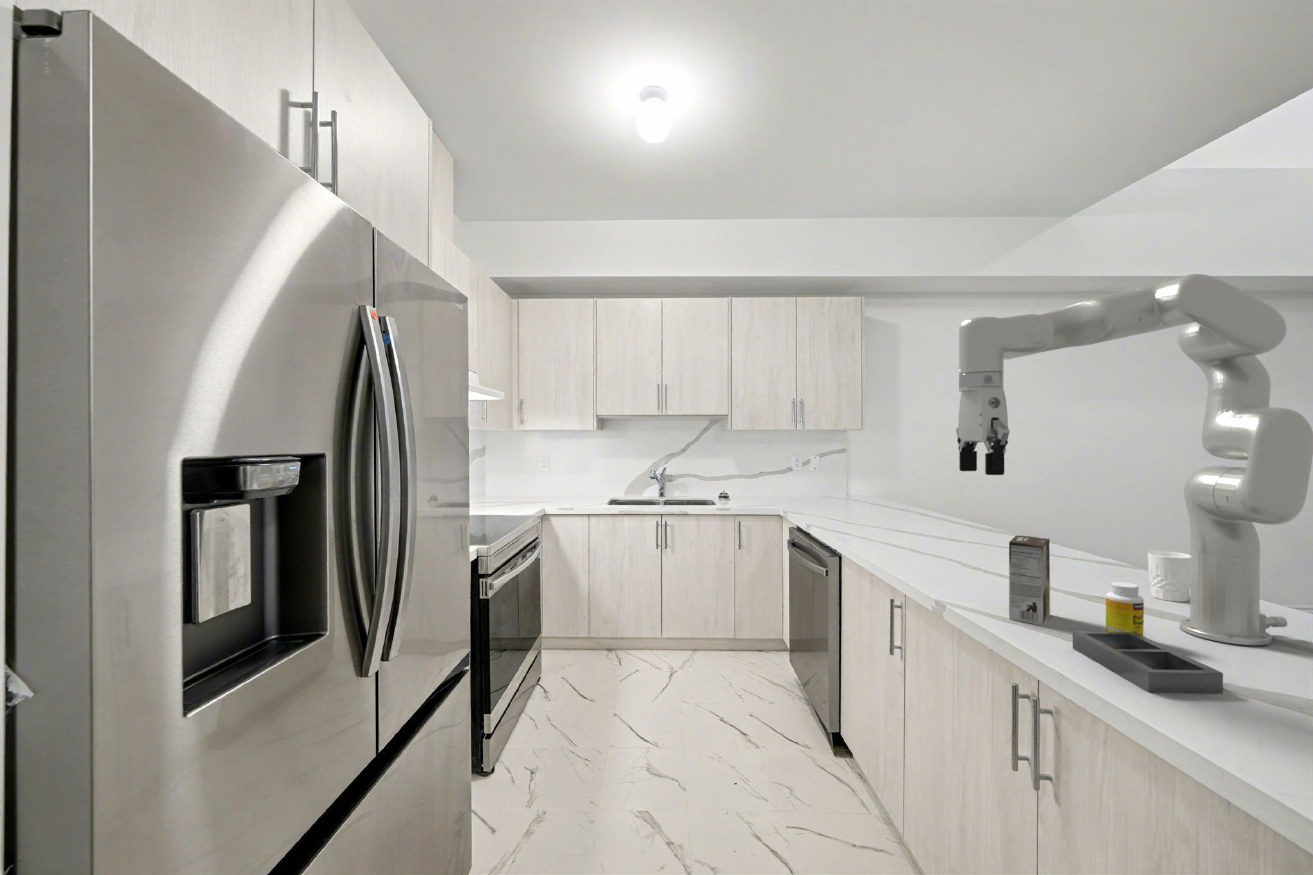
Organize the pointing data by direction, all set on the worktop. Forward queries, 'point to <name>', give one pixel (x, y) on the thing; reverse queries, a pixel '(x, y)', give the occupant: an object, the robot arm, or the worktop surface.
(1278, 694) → the worktop surface
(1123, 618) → the supplement bottle
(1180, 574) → the white cup
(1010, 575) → the coffee box
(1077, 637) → the dark grey divided tray
